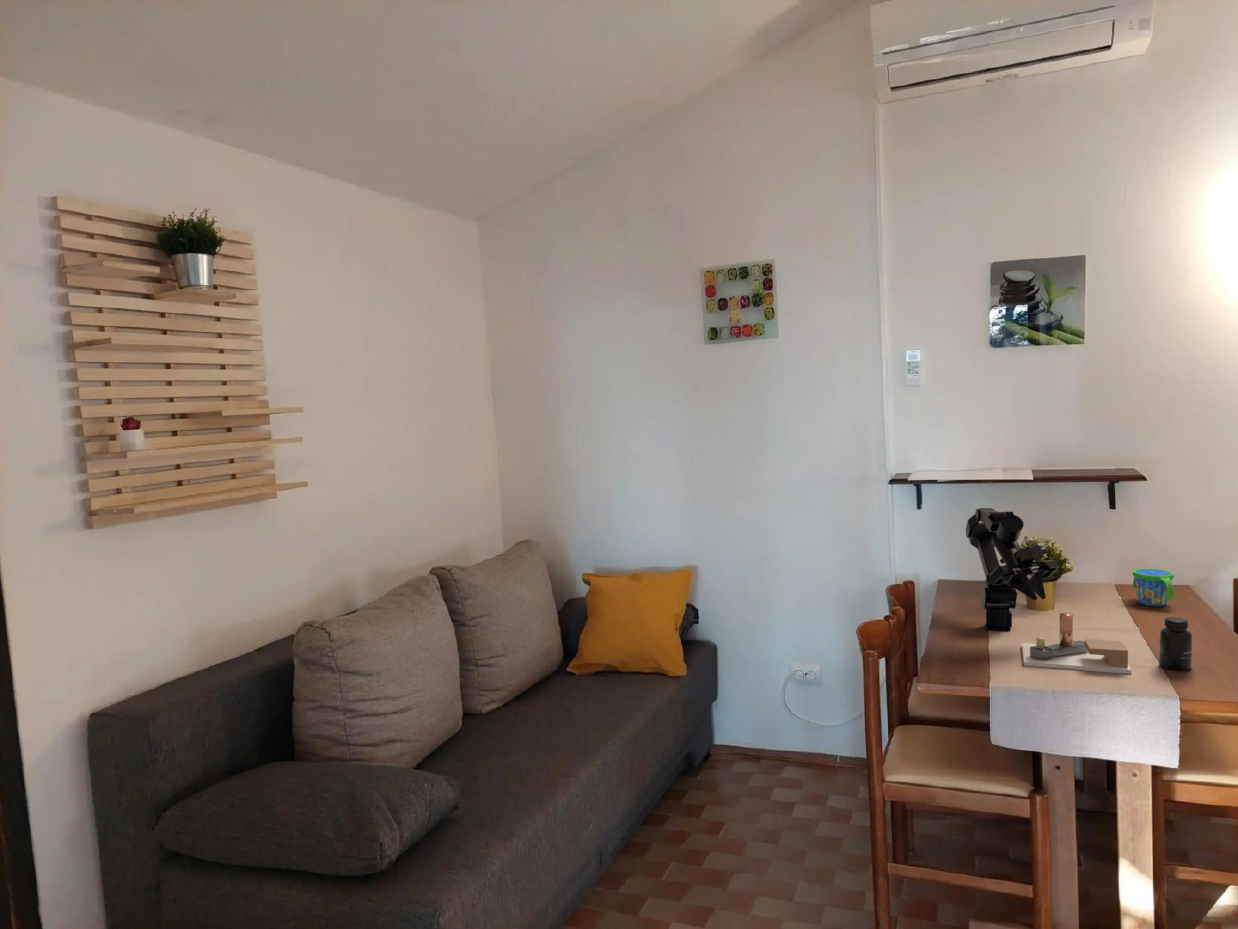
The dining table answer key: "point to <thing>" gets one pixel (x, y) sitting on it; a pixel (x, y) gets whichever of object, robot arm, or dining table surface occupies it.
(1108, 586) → the dining table surface
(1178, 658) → the supplement bottle
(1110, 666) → the base
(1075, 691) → the dining table surface
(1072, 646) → the link
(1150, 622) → the dining table surface
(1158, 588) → the snack cup
